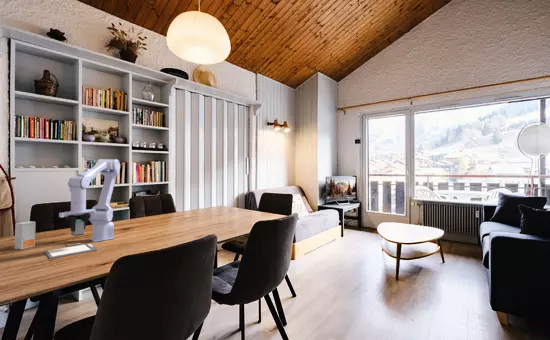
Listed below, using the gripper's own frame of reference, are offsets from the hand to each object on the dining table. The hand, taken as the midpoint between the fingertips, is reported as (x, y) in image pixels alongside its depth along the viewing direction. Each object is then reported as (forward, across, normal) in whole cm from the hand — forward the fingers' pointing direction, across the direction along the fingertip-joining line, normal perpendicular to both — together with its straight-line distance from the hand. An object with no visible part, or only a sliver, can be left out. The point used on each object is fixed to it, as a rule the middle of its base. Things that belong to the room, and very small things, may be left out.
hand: (78, 230), depth 126 cm
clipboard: (+9, +3, 0) cm, 9 cm away
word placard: (+9, -3, -9) cm, 13 cm away
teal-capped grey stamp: (+2, 0, 0) cm, 2 cm away
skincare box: (+9, +11, -23) cm, 27 cm away
